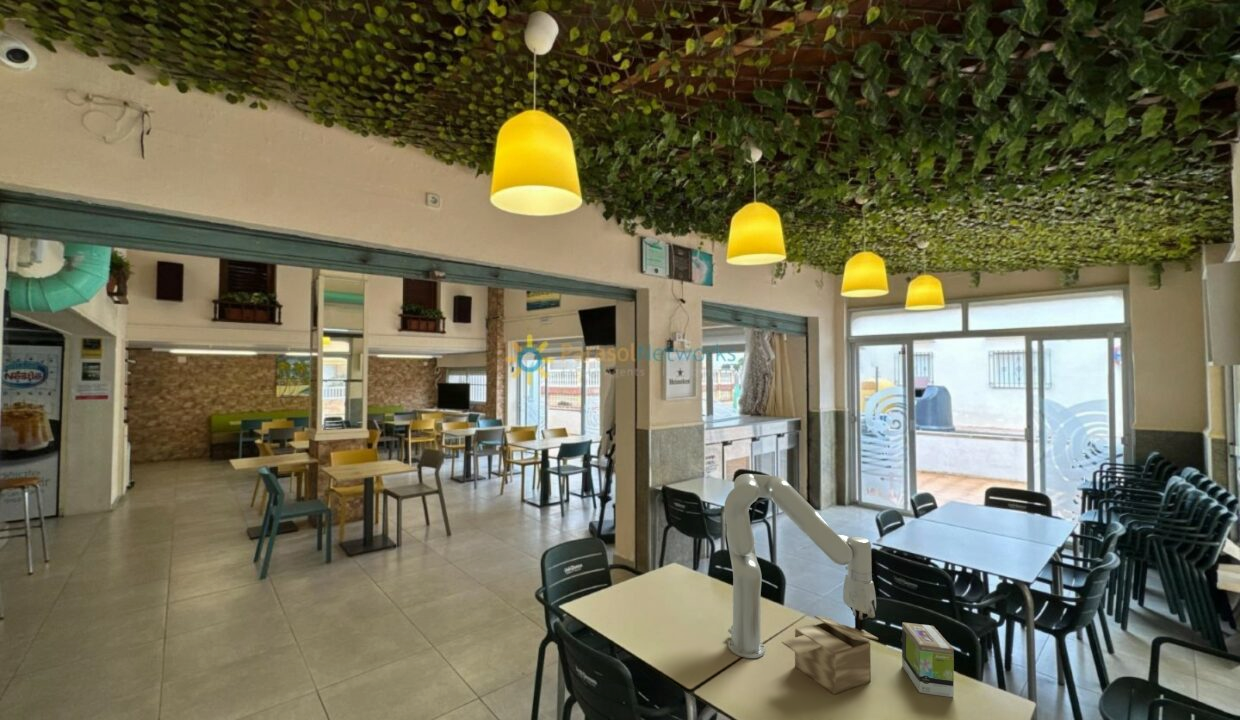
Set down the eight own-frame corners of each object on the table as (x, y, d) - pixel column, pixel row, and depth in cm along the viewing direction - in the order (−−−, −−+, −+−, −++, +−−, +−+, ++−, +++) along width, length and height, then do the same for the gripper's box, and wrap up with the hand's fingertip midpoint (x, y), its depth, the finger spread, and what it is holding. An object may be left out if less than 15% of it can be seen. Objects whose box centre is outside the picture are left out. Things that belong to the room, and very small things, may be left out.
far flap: (814, 617, 167) (814, 615, 167) (849, 624, 174) (850, 622, 174) (852, 639, 153) (853, 637, 153) (889, 646, 160) (890, 644, 160)
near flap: (851, 648, 153) (851, 646, 153) (808, 661, 145) (808, 659, 145) (813, 625, 167) (813, 623, 167) (772, 636, 159) (772, 634, 159)
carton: (795, 666, 163) (795, 629, 164) (829, 655, 170) (829, 620, 170) (834, 694, 149) (834, 654, 149) (870, 681, 155) (870, 643, 156)
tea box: (955, 698, 148) (954, 648, 148) (918, 693, 150) (918, 644, 150) (934, 669, 163) (933, 624, 163) (900, 665, 165) (900, 620, 165)
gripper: (833, 568, 174) (834, 621, 173) (871, 584, 160) (872, 642, 159) (848, 565, 177) (849, 617, 176) (886, 580, 163) (887, 636, 163)
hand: (860, 628), depth 168 cm, fingers closed
